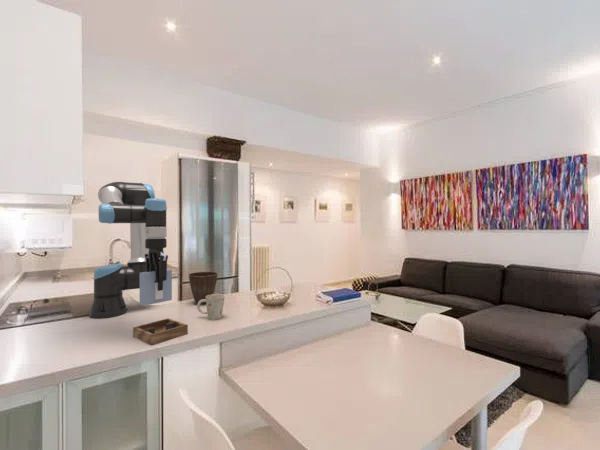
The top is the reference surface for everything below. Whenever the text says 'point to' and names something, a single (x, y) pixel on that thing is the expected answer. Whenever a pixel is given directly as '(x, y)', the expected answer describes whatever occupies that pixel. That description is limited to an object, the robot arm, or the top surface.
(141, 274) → the door
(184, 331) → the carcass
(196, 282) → the plant pot
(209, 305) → the mug
